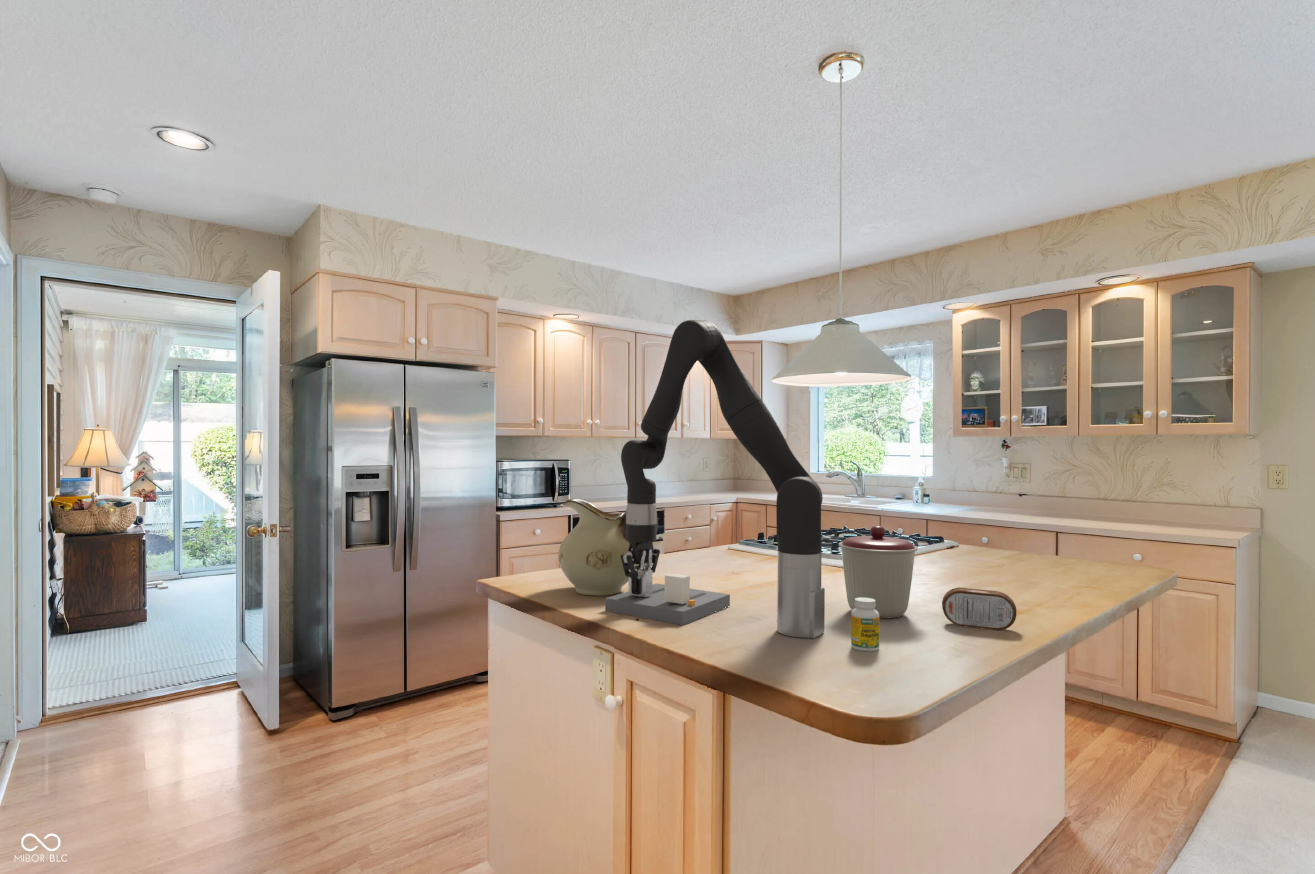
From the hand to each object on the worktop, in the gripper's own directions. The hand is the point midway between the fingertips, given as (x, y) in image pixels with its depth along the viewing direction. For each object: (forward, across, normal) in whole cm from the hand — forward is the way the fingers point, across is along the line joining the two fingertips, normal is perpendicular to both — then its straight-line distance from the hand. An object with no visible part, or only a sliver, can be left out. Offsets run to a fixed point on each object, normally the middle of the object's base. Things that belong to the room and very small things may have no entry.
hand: (640, 592), depth 161 cm
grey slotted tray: (+4, +4, -6) cm, 8 cm away
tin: (+4, +31, -70) cm, 77 cm away
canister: (+4, +30, -48) cm, 57 cm away
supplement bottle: (+4, 0, -54) cm, 55 cm away
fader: (+1, -1, -11) cm, 11 cm away
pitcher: (+4, +10, +20) cm, 23 cm away
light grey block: (+1, 0, 0) cm, 1 cm away
